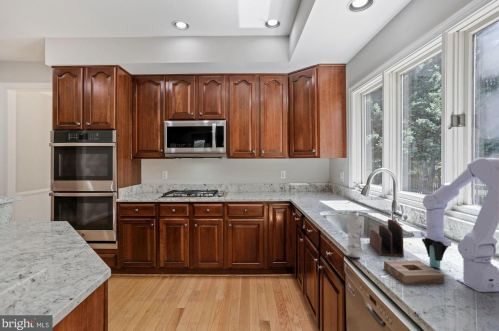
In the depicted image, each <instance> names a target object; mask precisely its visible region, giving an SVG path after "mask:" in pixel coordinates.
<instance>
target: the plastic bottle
mask: <svg viewBox="0 0 499 331" xmlns="http://www.w3.org/2000/svg"><path fill="white" fill-rule="evenodd" d="M359 217H360V215H359V212H358V211H350V212H349V219H348V220H347V222H346V229H347V246H346V254H347V256H349V257H350V258H354V259H355V258H356V259H357V258H361V256H362V254H363V251H362V250H363V249H362V245H361V242H362V241H361V237H362V236H361V233H362V229H363V228H362V226H363V224H362V222H361V220H360V219H359Z"/></svg>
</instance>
